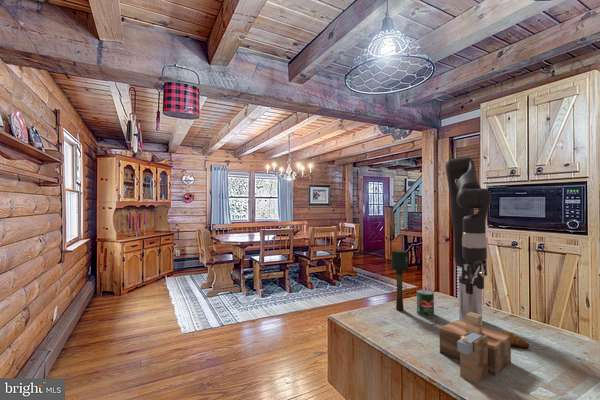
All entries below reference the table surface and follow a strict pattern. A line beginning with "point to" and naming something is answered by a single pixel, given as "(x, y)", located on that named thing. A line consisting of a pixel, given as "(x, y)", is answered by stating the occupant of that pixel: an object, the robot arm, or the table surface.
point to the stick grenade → (399, 273)
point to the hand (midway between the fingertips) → (475, 291)
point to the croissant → (516, 340)
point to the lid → (475, 330)
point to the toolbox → (476, 356)
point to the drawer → (467, 343)
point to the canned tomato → (425, 303)
